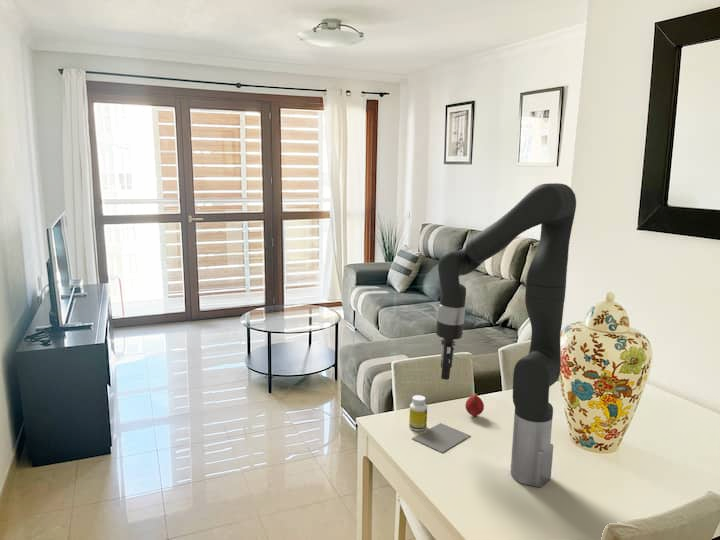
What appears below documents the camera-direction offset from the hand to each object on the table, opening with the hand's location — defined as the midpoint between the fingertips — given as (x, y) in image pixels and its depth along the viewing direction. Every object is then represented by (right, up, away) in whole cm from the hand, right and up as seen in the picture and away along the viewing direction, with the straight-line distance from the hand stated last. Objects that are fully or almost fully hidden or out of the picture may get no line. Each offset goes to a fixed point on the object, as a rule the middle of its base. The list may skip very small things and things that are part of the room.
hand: (444, 373), depth 152 cm
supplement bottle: (-7, -19, +10) cm, 23 cm away
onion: (+12, -18, +18) cm, 28 cm away
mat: (0, -20, +4) cm, 20 cm away
